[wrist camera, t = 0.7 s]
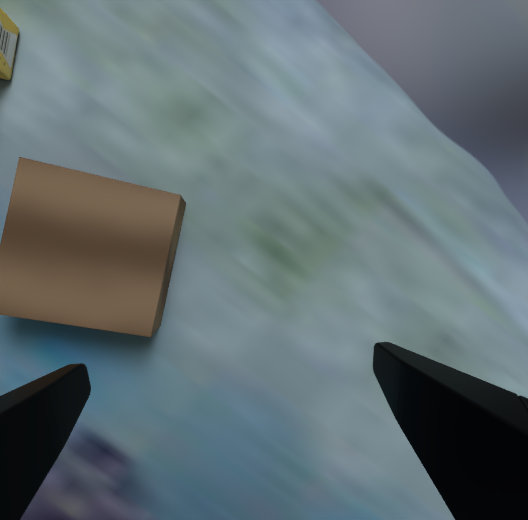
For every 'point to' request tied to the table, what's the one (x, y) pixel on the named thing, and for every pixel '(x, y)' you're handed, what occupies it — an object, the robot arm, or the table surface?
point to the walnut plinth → (87, 249)
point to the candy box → (7, 45)
